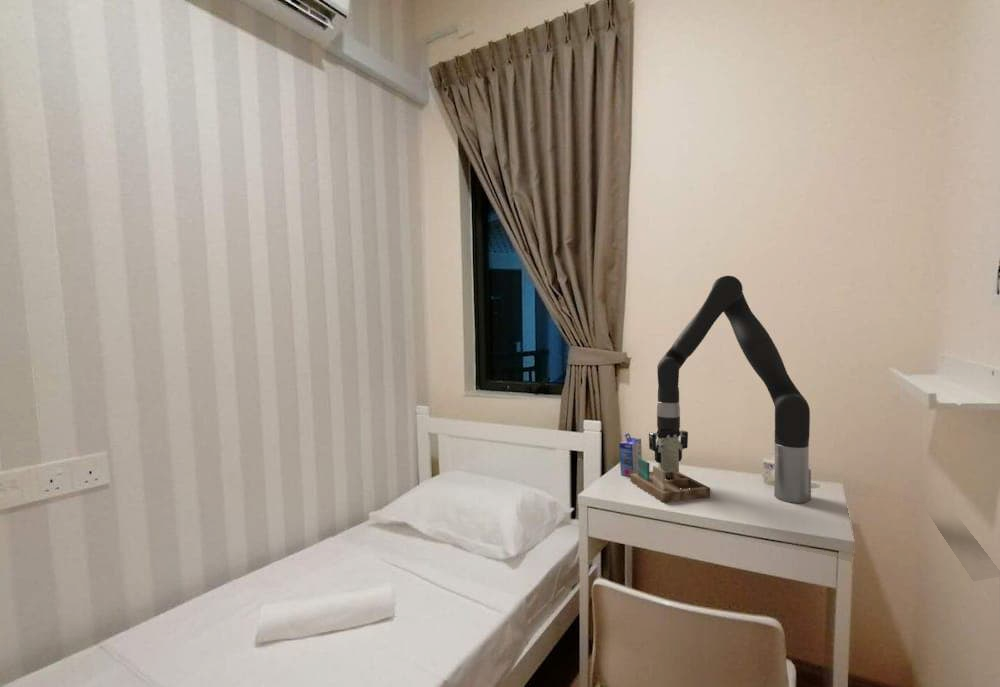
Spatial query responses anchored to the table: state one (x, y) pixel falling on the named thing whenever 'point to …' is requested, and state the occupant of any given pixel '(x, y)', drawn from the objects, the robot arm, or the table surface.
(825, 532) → the table surface
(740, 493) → the table surface
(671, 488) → the socket block
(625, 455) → the ink cartridge box
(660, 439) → the skincare box
